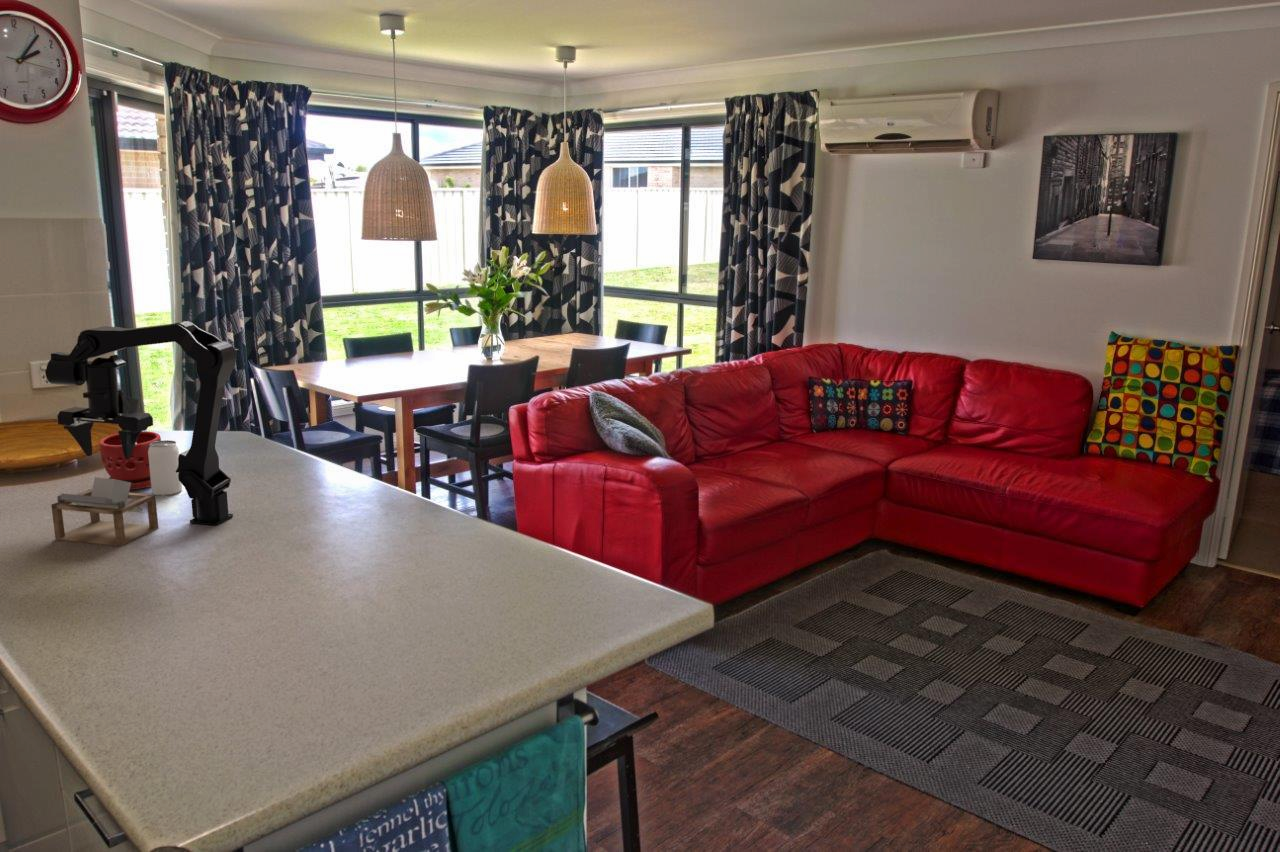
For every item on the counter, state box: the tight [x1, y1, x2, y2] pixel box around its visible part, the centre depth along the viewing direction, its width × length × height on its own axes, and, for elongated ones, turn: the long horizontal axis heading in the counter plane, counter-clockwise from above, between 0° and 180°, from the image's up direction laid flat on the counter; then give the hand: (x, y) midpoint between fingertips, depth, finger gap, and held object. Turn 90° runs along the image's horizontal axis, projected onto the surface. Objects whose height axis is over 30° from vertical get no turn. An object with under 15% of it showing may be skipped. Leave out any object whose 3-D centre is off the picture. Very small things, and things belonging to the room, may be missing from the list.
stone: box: [91, 477, 131, 505], centre depth 196 cm, size 5×5×5 cm
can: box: [148, 440, 183, 497], centre depth 222 cm, size 6×6×12 cm
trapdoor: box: [60, 493, 142, 513], centre depth 193 cm, size 12×10×1 cm
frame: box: [51, 488, 159, 547], centre depth 195 cm, size 15×11×9 cm
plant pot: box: [98, 430, 162, 490], centre depth 227 cm, size 13×13×12 cm
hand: (108, 457), depth 203 cm, fingers open, 9 cm apart
